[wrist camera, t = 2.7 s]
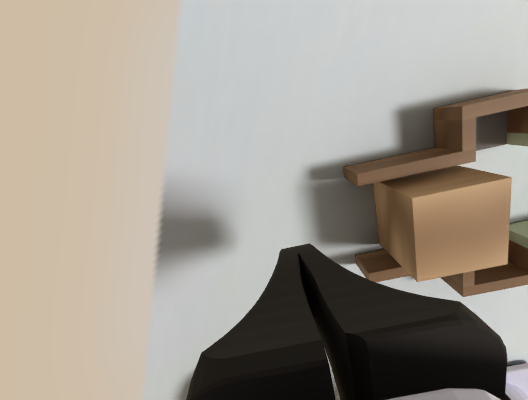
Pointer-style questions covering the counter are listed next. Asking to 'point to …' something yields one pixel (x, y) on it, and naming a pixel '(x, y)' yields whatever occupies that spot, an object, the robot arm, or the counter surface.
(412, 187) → the oak block
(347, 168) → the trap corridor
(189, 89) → the counter surface
